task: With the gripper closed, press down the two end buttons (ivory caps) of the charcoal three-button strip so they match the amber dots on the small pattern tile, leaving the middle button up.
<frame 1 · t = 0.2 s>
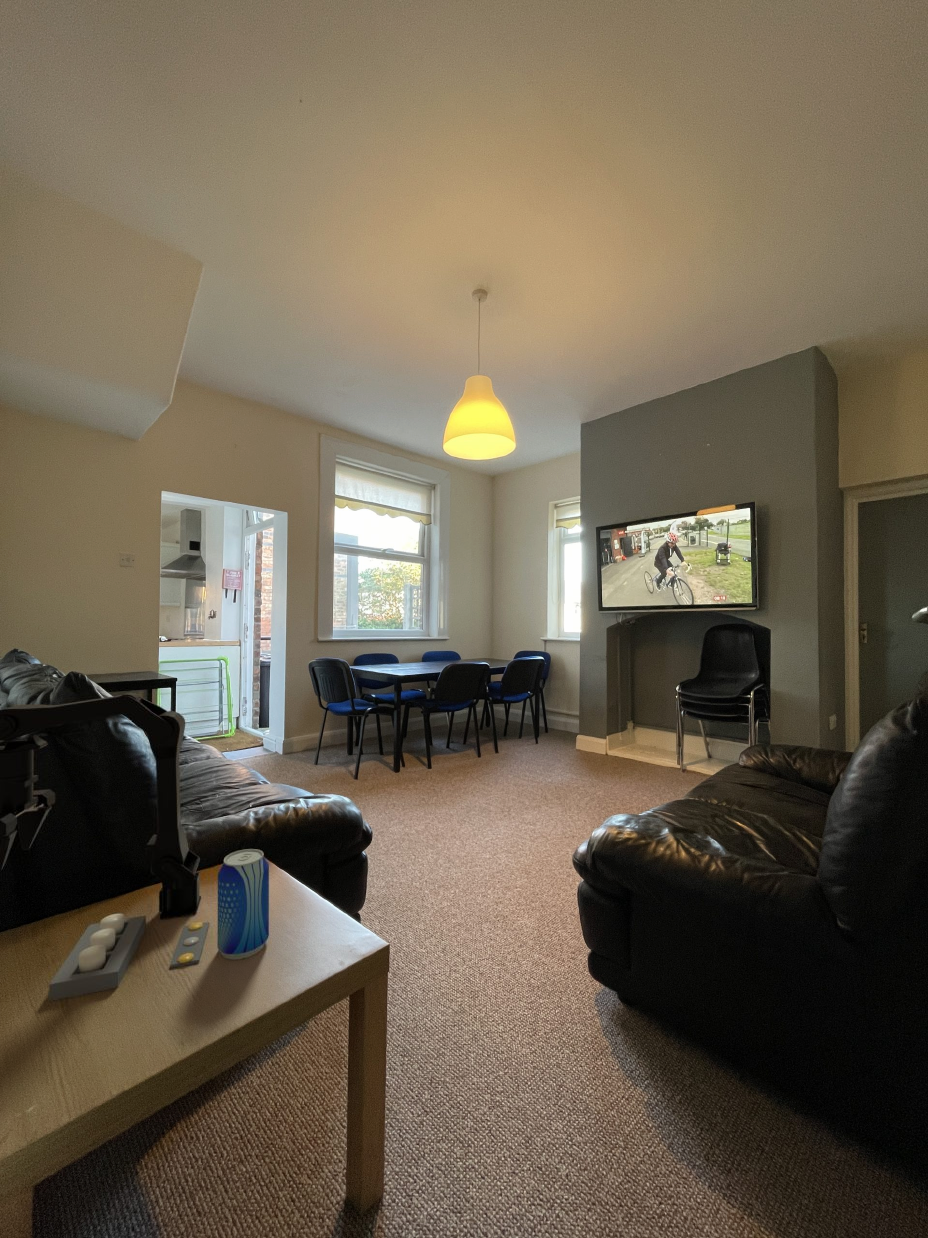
hand: (12, 859, 95), 14 cm above the table, fingers open, 9 cm apart
button board: (102, 961, 88), on the table
beer can: (243, 948, 91), on the table
button 2: (112, 926, 93), point 3 cm above the table, slide at 0.0 cm
pattern tile: (190, 945, 92), on the table
button mid: (102, 941, 88), point 3 cm above the table, slide at 0.0 cm
button 1: (92, 959, 83), point 3 cm above the table, slide at 0.0 cm
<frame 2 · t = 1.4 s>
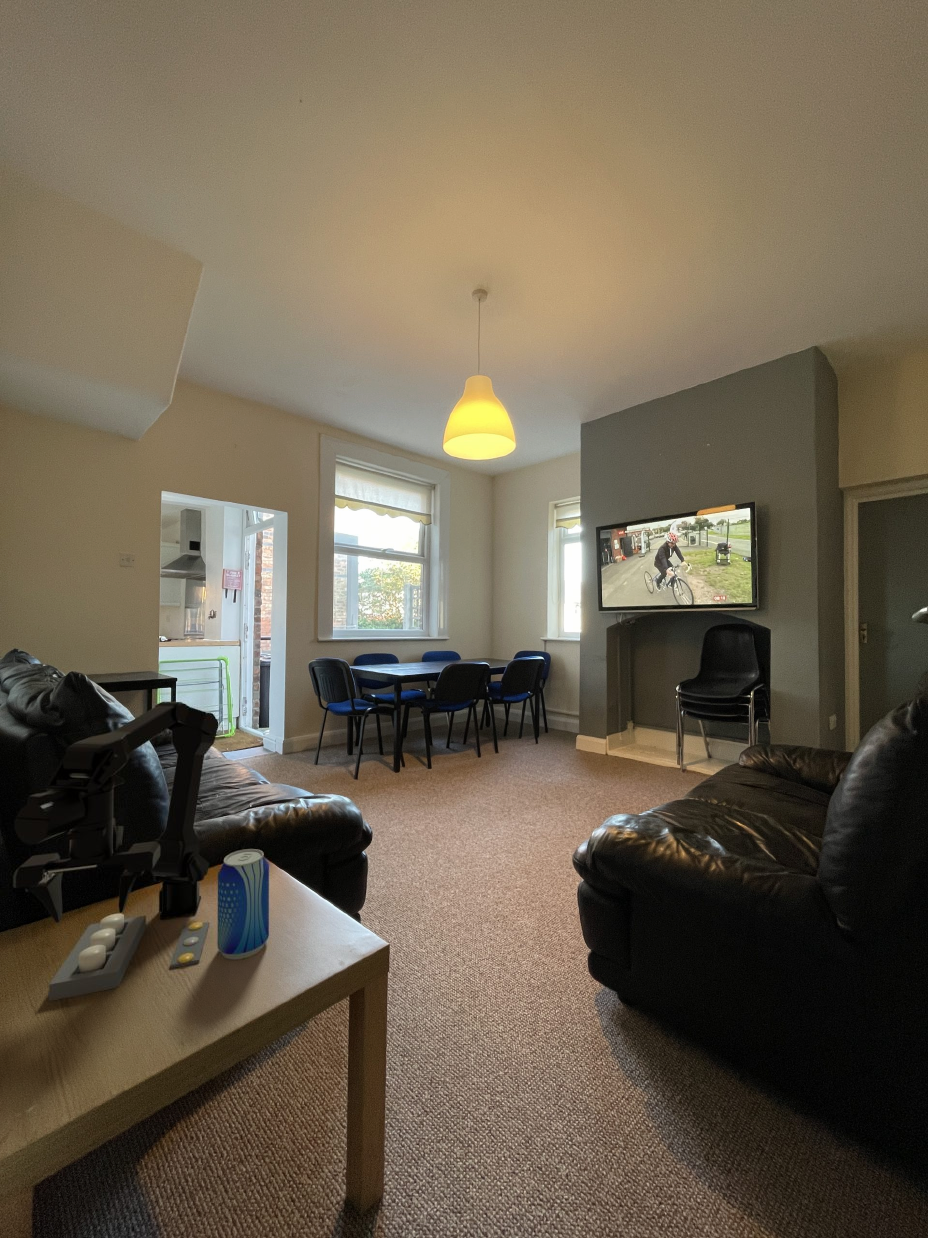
hand: (90, 916, 83), 10 cm above the table, fingers open, 8 cm apart
nothing on the table moved.
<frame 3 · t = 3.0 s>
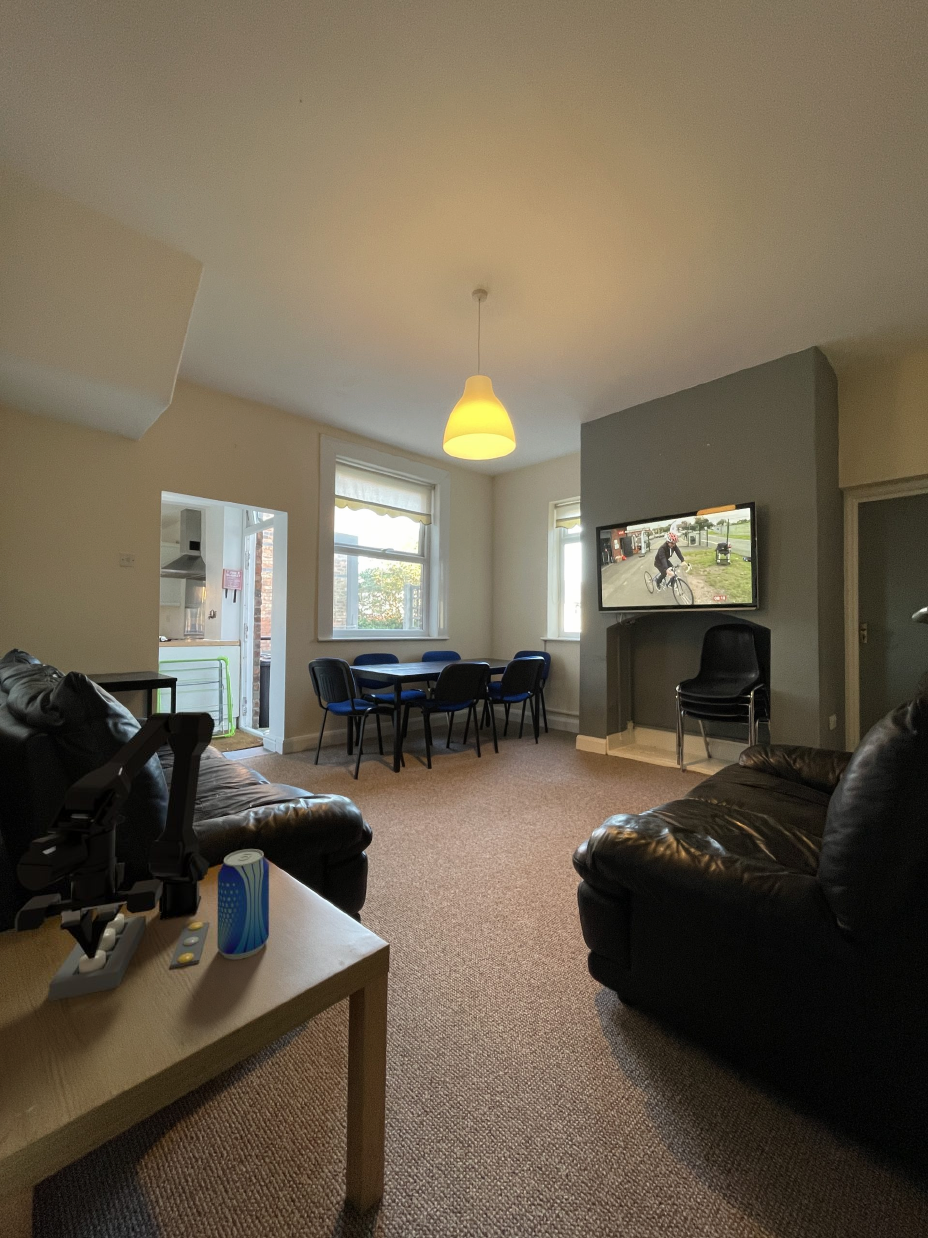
hand: (92, 957, 83), 4 cm above the table, fingers closed, pressing on button 1
button 1: (92, 965, 83), point 2 cm above the table, slide at 0.9 cm, touching gripper
everything else where it was.
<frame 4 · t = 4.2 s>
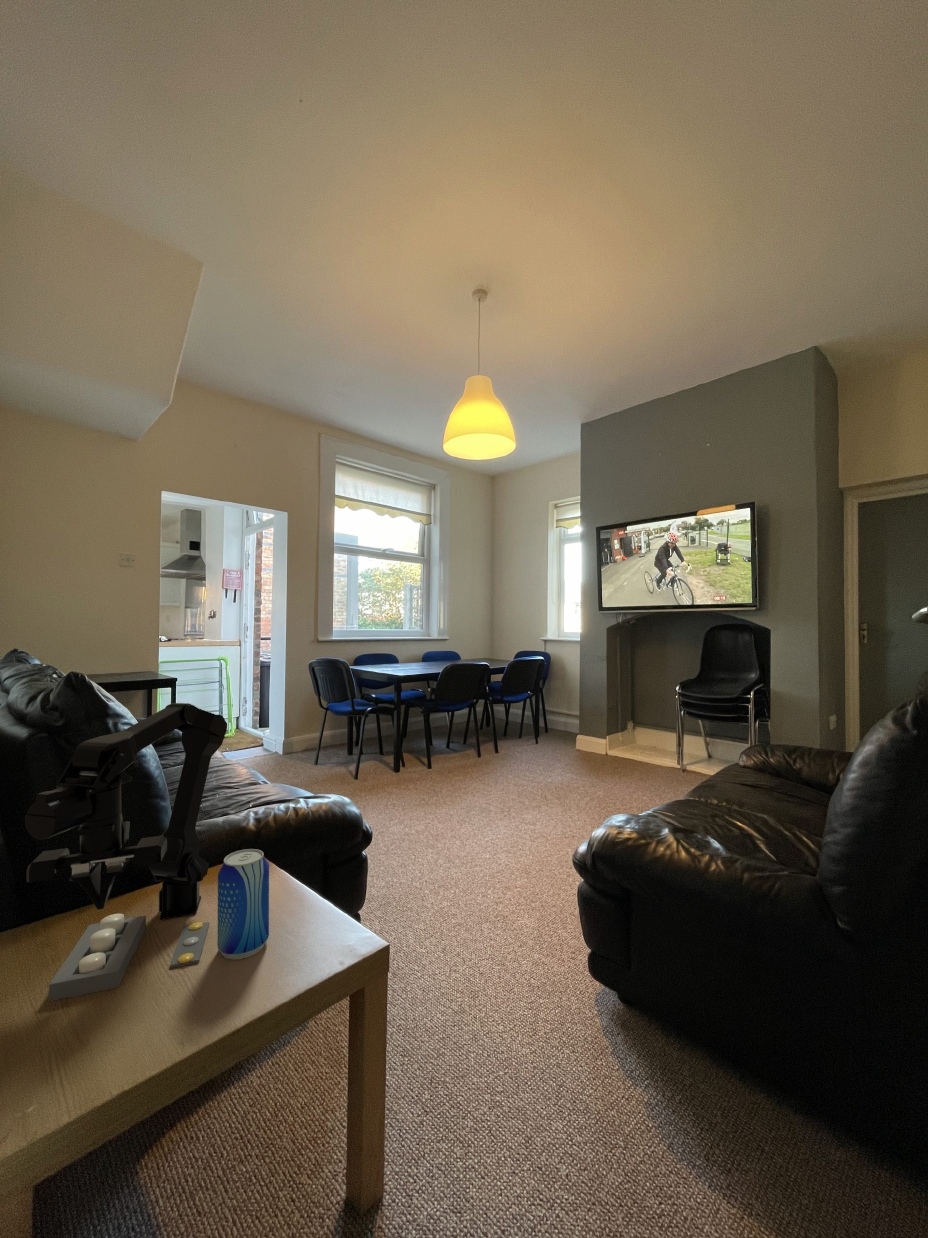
hand: (101, 908, 87), 10 cm above the table, fingers closed
button 1: (92, 967, 83), point 2 cm above the table, slide at 1.2 cm
everything else where it was.
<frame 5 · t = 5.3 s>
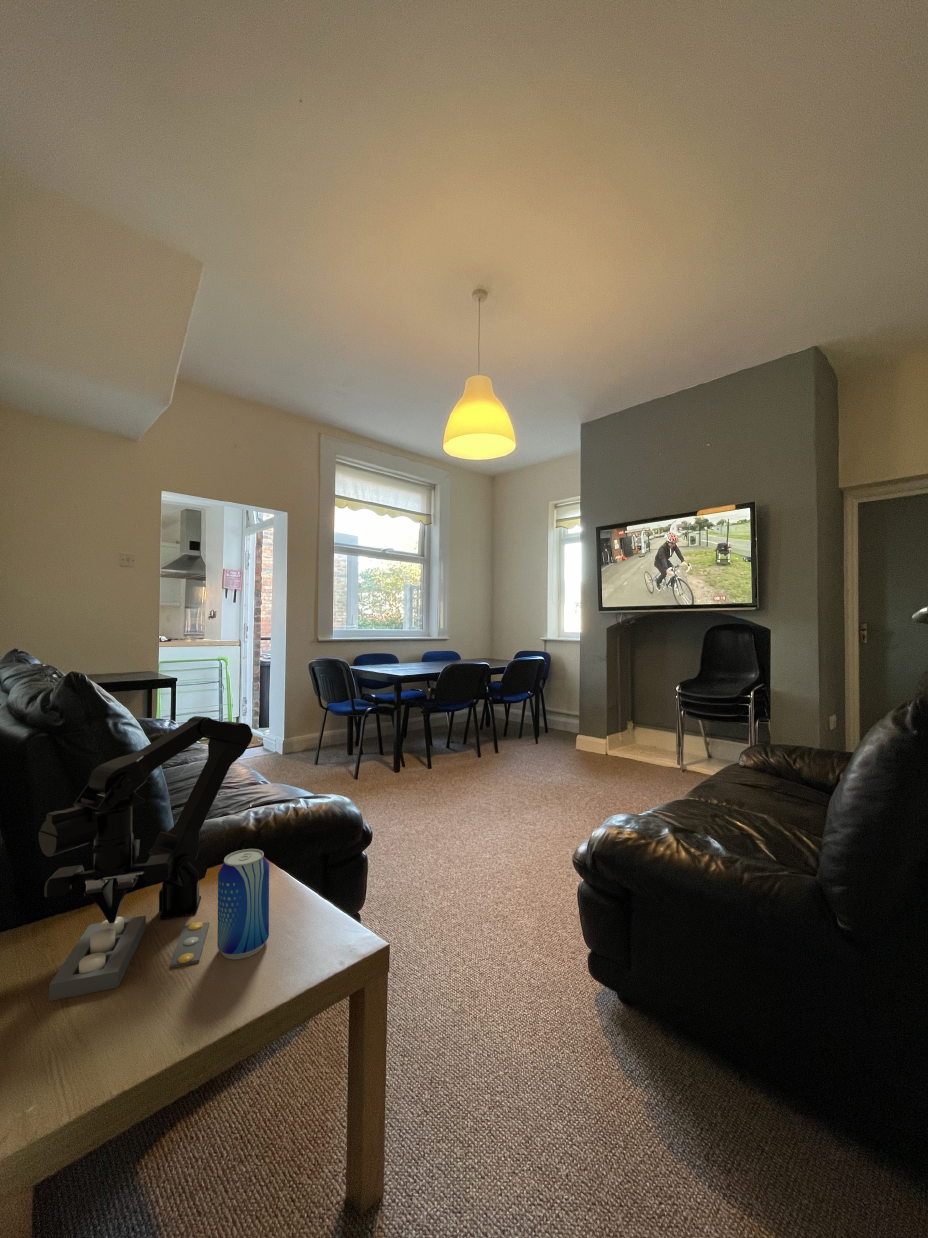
hand: (112, 922, 93), 4 cm above the table, fingers closed, pressing on button 2
button 2: (112, 929, 93), point 3 cm above the table, slide at 0.5 cm, touching gripper
everything else where it was.
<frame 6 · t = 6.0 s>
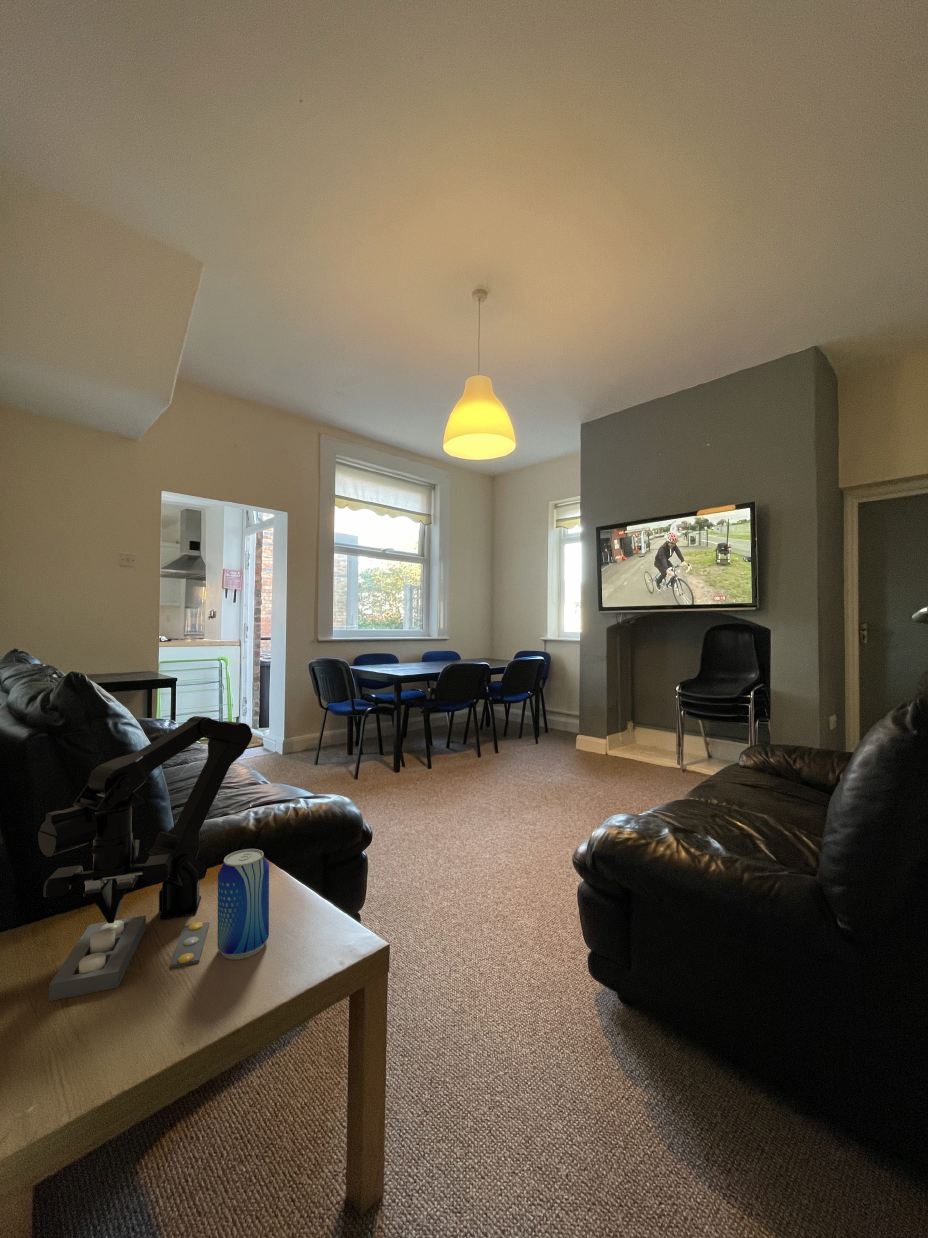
hand: (111, 922, 93), 4 cm above the table, fingers closed
button 2: (112, 933, 93), point 2 cm above the table, slide at 1.2 cm
everything else where it was.
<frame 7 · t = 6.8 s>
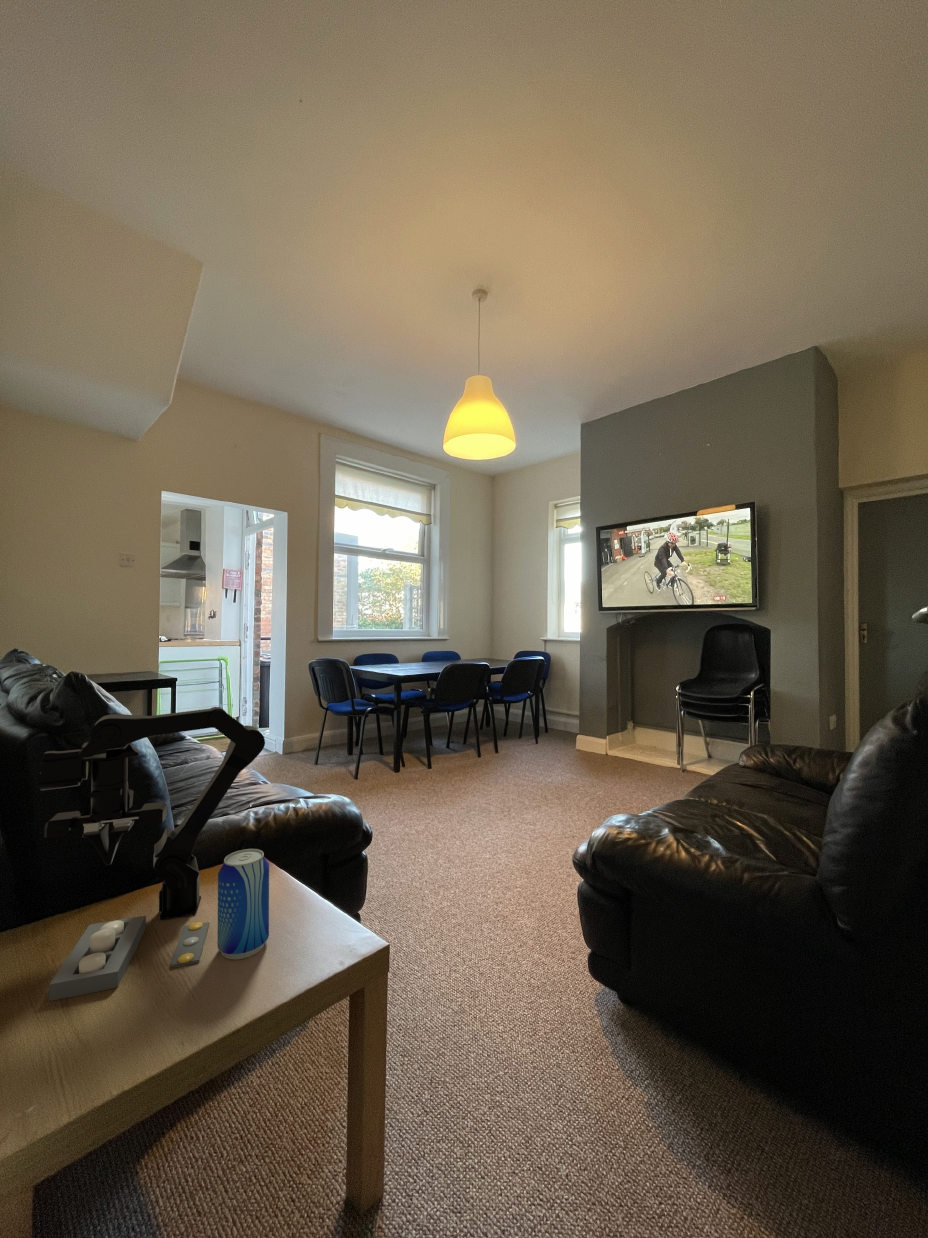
hand: (108, 864, 98), 12 cm above the table, fingers closed
nothing on the table moved.
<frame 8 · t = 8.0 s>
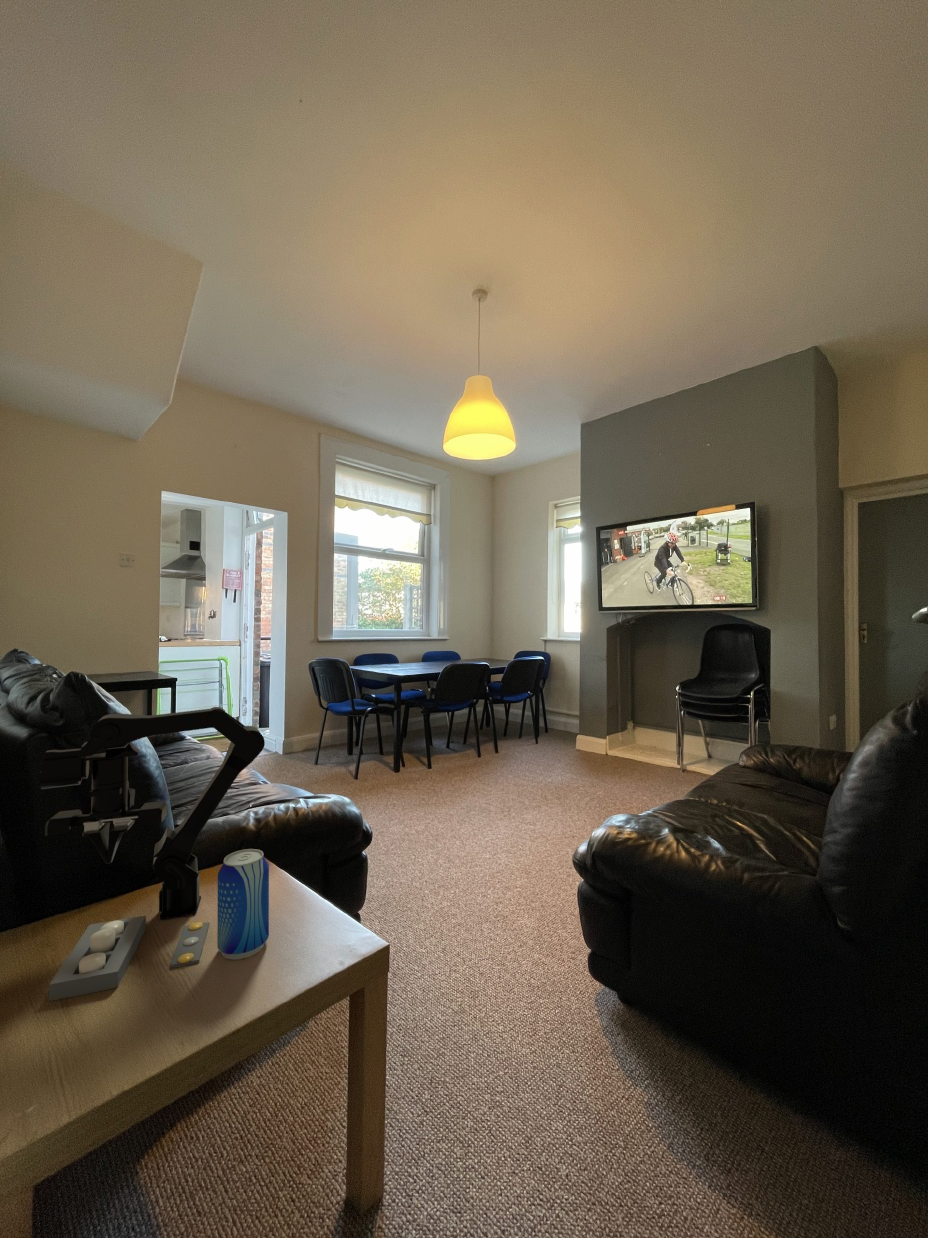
hand: (109, 862, 99), 12 cm above the table, fingers closed
nothing on the table moved.
at the end: button 1 slide at 1.2 cm; button 2 slide at 1.2 cm; button mid slide at 0.0 cm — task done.
